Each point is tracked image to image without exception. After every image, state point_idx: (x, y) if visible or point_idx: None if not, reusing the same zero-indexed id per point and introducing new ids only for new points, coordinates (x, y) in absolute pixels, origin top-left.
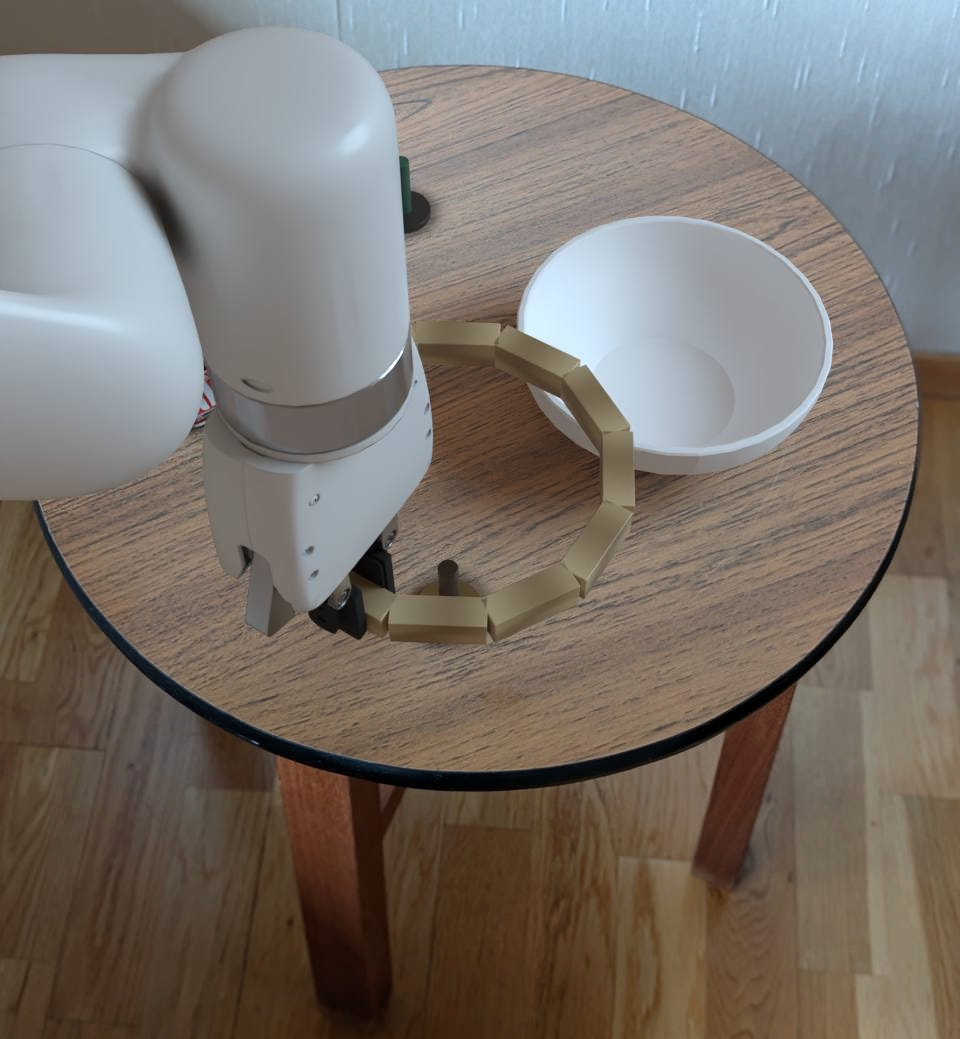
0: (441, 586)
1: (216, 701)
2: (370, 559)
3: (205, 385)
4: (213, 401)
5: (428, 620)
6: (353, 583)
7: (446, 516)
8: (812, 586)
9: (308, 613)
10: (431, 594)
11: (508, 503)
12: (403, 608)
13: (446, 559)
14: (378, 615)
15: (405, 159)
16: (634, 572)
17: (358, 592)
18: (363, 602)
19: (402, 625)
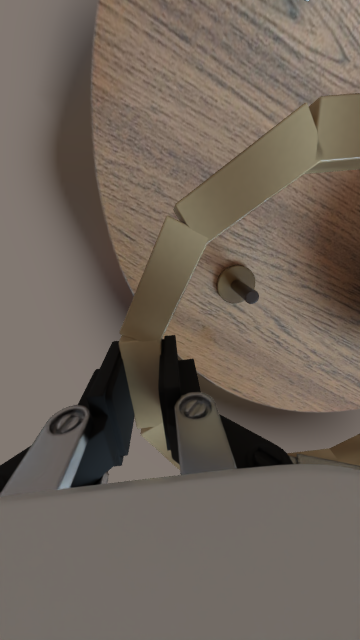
0: (240, 293)
1: (105, 211)
2: (166, 443)
3: None
4: None
5: (167, 454)
6: (151, 389)
7: (289, 241)
8: (328, 398)
9: (93, 374)
10: (238, 272)
11: (314, 265)
12: (162, 434)
13: (257, 292)
14: (140, 424)
15: None
16: (302, 341)
17: (119, 463)
18: (131, 432)
19: (148, 441)
